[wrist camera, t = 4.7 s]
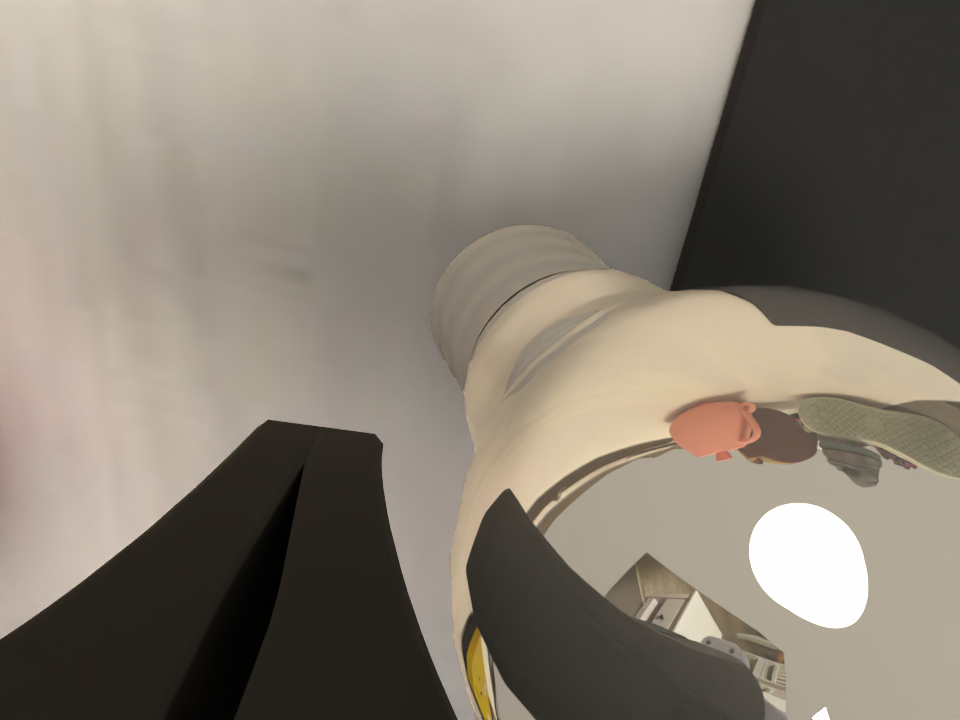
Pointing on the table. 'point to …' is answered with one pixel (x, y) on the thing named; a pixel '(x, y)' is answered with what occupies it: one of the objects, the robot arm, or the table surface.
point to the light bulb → (697, 496)
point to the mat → (839, 160)
